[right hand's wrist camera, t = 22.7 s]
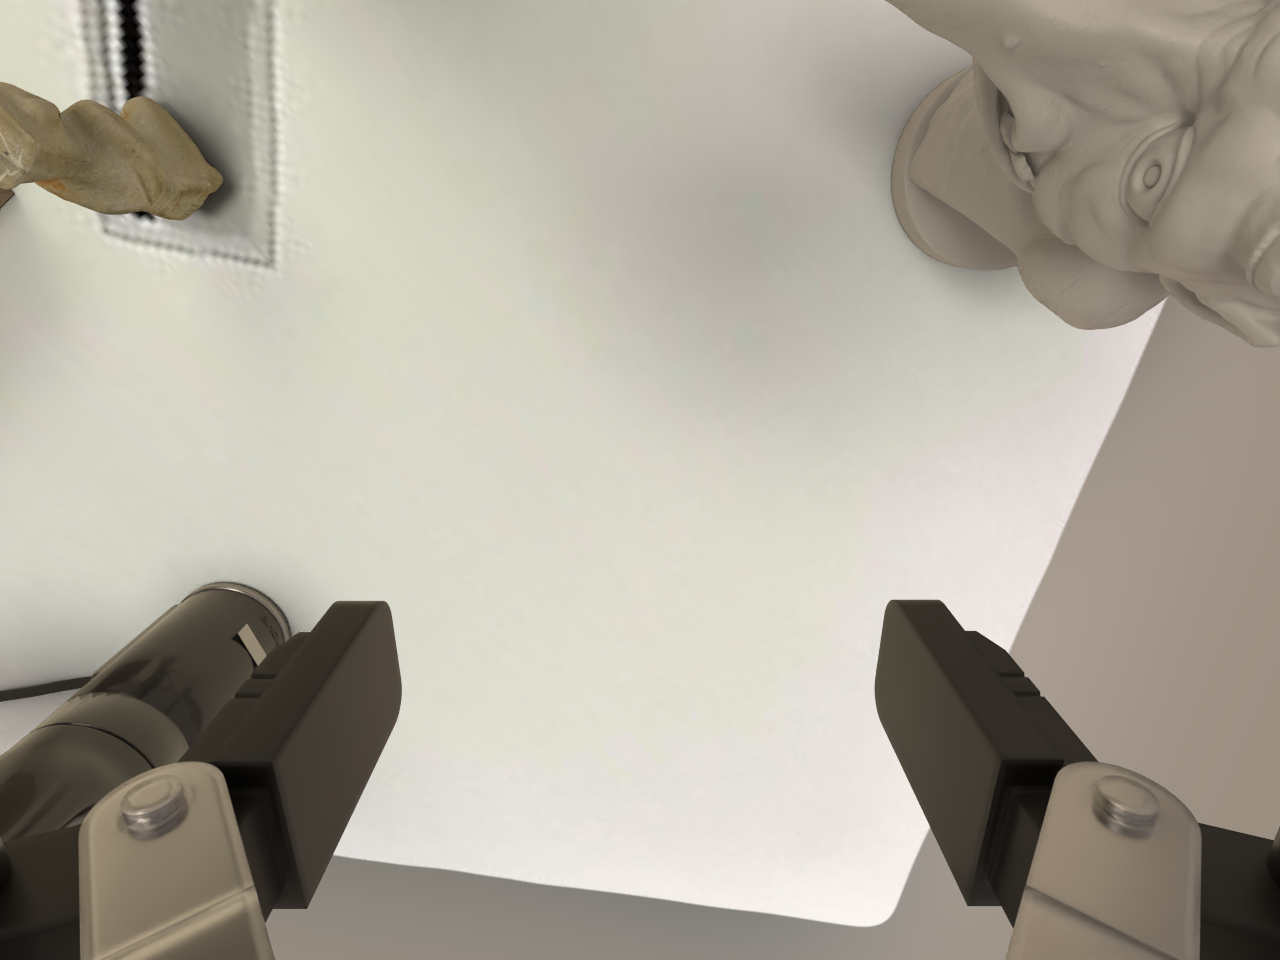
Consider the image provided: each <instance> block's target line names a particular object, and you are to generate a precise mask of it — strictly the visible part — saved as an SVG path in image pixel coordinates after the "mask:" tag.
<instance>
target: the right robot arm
mask: <svg viewBox="0 0 1280 960" xmlns="http://www.w3.org/2000/svg"><path fill="white" fill-rule="evenodd" d="M401 696H402V684H401V676H400V669H399V662H398V655H397V648H396V641H395V635H394V628H393V621H392V615H391V610H390V607H389V605H388V604H387V603H386V602H385V601H337V602H335V603H333V605H332V606H331V607H330V608H329V609H328V611H327V612H326V613H325V614H324V616H323V617H322V618H321V620H320V621H319V622H318V623H317V625H316V626H315V627H314V629H313V630H312V631H311V632H299V633H298V634H296V635H295V636H293V637H292V638H290V639H289V640H287V641H286V642H284V643H283V644H281V645H280V646H278V647H276V648H275V649H273V650H272V651H270V652H269V654H268V655H267V656H266V657H265V658H264V659H263V661H262V662H261V663H260V664H259V665H258V667H257V668H256V669H255V670H254V671H253V673H252V674H251V678H250V679H247V680H246V681H245V682H244V683H243V684H242V686H241V687H240V688H239V689H238V690H237V692H236V693H235V697H234V699H230V700H229V701H228V702H227V703H226V705H225V706H224V707H223V708H222V709H221V711H220V712H219V713H218V714H217V715H216V717H215V718H214V719H213V720H212V721H211V722H210V724H209V725H208V726H207V727H206V728H205V730H204V731H203V732H202V733H201V734H200V736H199V737H198V738H197V739H196V740H195V742H194V743H193V744H192V745H191V746H190V747H189V749H188V750H187V751H186V752H185V753H184V755H183V756H182V757H181V758H180V759H179V761H178V762H177V763H173V764H169V765H165V766H161V767H158V768H155V769H152V770H149V771H147V772H144V773H142V774H140V775H137V776H135V777H134V778H132V779H130V780H128V781H126V782H124V783H123V784H121V785H119V786H118V787H116V788H115V789H113V790H112V791H111V792H109V793H108V794H107V795H105V796H104V797H103V798H102V799H101V800H100V801H99V802H98V803H97V804H96V805H95V806H94V807H93V808H92V809H91V810H90V812H89V813H88V814H87V816H86V817H85V819H84V820H83V822H82V824H78V825H75V826H71V827H67V828H62V829H58V830H54V831H49V832H45V833H41V834H37V835H32V836H28V837H24V838H19V839H15V840H11V841H7V842H2V839H1V837H0V960H275V958H274V954H273V950H272V947H271V943H270V940H269V936H268V932H267V929H266V925H265V922H266V921H267V919H268V917H269V915H270V913H271V911H272V909H307V908H308V905H309V903H310V901H311V899H312V897H313V895H314V893H315V891H316V889H317V887H318V885H319V882H320V880H321V878H322V876H323V874H324V872H325V870H326V868H327V866H328V864H329V862H330V859H331V857H332V855H333V853H334V851H335V849H336V847H337V845H338V843H339V841H340V839H341V836H342V834H343V832H344V830H345V828H346V826H347V824H348V822H349V820H350V818H351V816H352V813H353V811H354V809H355V807H356V805H357V803H358V801H359V799H360V797H361V795H362V792H363V790H364V788H365V786H366V784H367V782H368V780H369V778H370V776H371V774H372V772H373V769H374V767H375V765H376V763H377V761H378V759H379V757H380V755H381V753H382V751H383V749H384V746H385V744H386V742H387V740H388V738H389V736H390V734H391V732H392V730H393V728H394V726H395V723H396V721H397V718H398V714H399V710H400V705H401ZM875 700H876V707H877V712H878V715H879V718H880V721H881V723H882V725H883V728H884V730H885V732H886V734H887V736H888V738H889V740H890V742H891V745H892V747H893V749H894V751H895V753H896V755H897V757H898V759H899V761H900V764H901V766H902V768H903V770H904V772H905V774H906V776H907V778H908V781H909V783H910V785H911V787H912V789H913V791H914V793H915V795H916V798H917V800H918V802H919V804H920V806H921V808H922V810H923V812H924V814H925V817H926V819H927V821H928V823H929V825H930V827H931V829H932V831H933V834H934V836H935V838H936V840H937V842H938V844H939V846H940V848H941V850H942V853H943V855H944V857H945V859H946V861H947V863H948V865H949V867H950V869H951V872H952V874H953V876H954V878H955V880H956V882H957V884H958V886H959V889H960V891H961V893H962V895H963V897H964V899H965V901H966V903H967V905H968V906H1002V908H1003V910H1004V912H1005V914H1006V915H1007V917H1008V919H1009V921H1010V923H1011V925H1012V927H1013V932H1012V936H1011V940H1010V943H1009V947H1008V951H1007V954H1006V958H1005V960H1280V828H1279V830H1278V832H1277V835H1276V837H1275V839H1274V840H1269V839H1266V838H1261V837H1257V836H1253V835H1248V834H1244V833H1240V832H1235V831H1231V830H1227V829H1223V828H1218V827H1214V826H1210V825H1205V824H1201V823H1198V822H1197V820H1196V819H1195V817H1194V816H1193V814H1192V813H1191V812H1190V810H1189V809H1188V808H1187V807H1186V806H1185V805H1184V804H1183V803H1182V802H1181V801H1180V800H1179V799H1178V798H1177V797H1176V796H1175V795H1173V794H1172V793H1171V792H1169V791H1168V790H1167V789H1165V788H1164V787H1162V786H1161V785H1159V784H1157V783H1156V782H1154V781H1152V780H1150V779H1148V778H1146V777H1145V776H1143V775H1140V774H1138V773H1136V772H1133V771H1131V770H1128V769H1125V768H1122V767H1119V766H1115V765H1111V764H1107V763H1100V762H1098V761H1097V760H1096V758H1095V757H1094V756H1093V755H1092V754H1091V752H1090V751H1089V750H1088V749H1087V748H1086V746H1085V745H1084V744H1083V743H1082V742H1081V740H1080V739H1079V738H1078V737H1077V736H1076V734H1075V733H1074V732H1073V731H1072V730H1071V728H1070V727H1069V726H1068V725H1067V724H1066V722H1065V721H1064V720H1063V719H1062V718H1061V716H1060V715H1059V714H1058V713H1057V712H1056V710H1055V709H1054V708H1053V707H1052V706H1051V704H1050V703H1049V702H1048V701H1047V700H1046V698H1045V697H1041V696H1040V691H1039V690H1038V689H1037V688H1036V686H1035V685H1034V684H1033V683H1032V682H1031V680H1030V679H1029V678H1028V677H1025V676H1024V672H1023V671H1022V670H1021V668H1020V667H1019V666H1018V665H1017V664H1016V662H1015V661H1014V660H1013V659H1012V658H1011V656H1010V655H1009V654H1008V653H1007V652H1006V650H1004V649H1003V648H1001V647H1000V646H998V645H997V644H995V643H994V642H992V641H991V640H989V639H988V638H986V637H985V636H983V635H981V634H980V633H978V632H977V631H965V630H964V629H963V628H962V626H961V625H960V624H959V623H958V621H957V620H956V619H955V617H954V616H953V615H952V614H951V612H950V611H949V610H948V608H947V607H946V606H945V604H944V603H943V602H941V601H940V600H891V601H890V602H889V603H888V604H887V607H886V610H885V615H884V621H883V628H882V635H881V642H880V649H879V656H878V663H877V670H876V677H875Z"/></svg>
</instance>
